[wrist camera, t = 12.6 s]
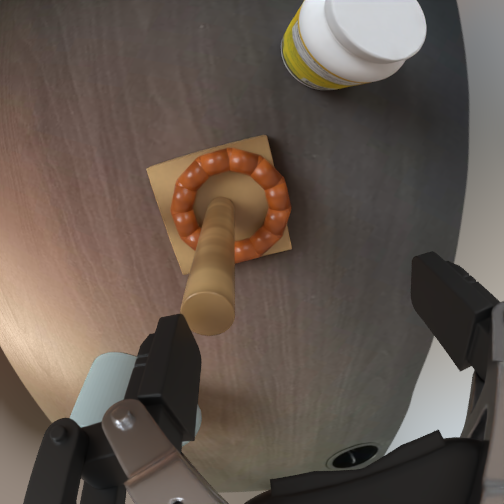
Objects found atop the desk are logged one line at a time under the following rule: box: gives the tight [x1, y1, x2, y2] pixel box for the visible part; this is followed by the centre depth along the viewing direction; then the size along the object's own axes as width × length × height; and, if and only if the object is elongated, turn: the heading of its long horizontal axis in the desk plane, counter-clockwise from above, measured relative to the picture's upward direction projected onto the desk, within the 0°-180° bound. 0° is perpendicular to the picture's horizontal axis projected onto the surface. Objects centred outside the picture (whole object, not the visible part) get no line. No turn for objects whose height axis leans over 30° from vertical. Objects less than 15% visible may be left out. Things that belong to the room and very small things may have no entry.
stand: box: [147, 135, 292, 336], centre depth 18 cm, size 9×9×14 cm
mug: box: [70, 352, 202, 446], centre depth 27 cm, size 14×9×10 cm
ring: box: [170, 148, 291, 264], centre depth 22 cm, size 8×8×2 cm
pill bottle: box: [281, 0, 426, 90], centre depth 14 cm, size 6×6×11 cm
